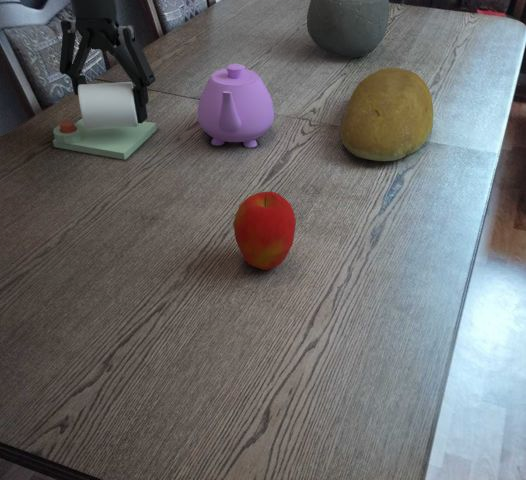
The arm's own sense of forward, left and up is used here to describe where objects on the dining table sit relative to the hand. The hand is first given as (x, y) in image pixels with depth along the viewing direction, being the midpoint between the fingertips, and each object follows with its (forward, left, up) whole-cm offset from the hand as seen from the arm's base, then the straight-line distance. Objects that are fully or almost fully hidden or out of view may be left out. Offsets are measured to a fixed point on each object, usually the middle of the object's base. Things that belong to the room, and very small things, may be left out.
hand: (114, 116), depth 110 cm
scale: (-3, -1, -5) cm, 5 cm away
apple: (+41, -30, -5) cm, 51 cm away
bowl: (+32, +65, -5) cm, 73 cm away
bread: (+51, +22, -5) cm, 56 cm away
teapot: (+22, +8, -5) cm, 25 cm away
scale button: (-8, -5, -2) cm, 10 cm away
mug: (-1, 0, -1) cm, 2 cm away
